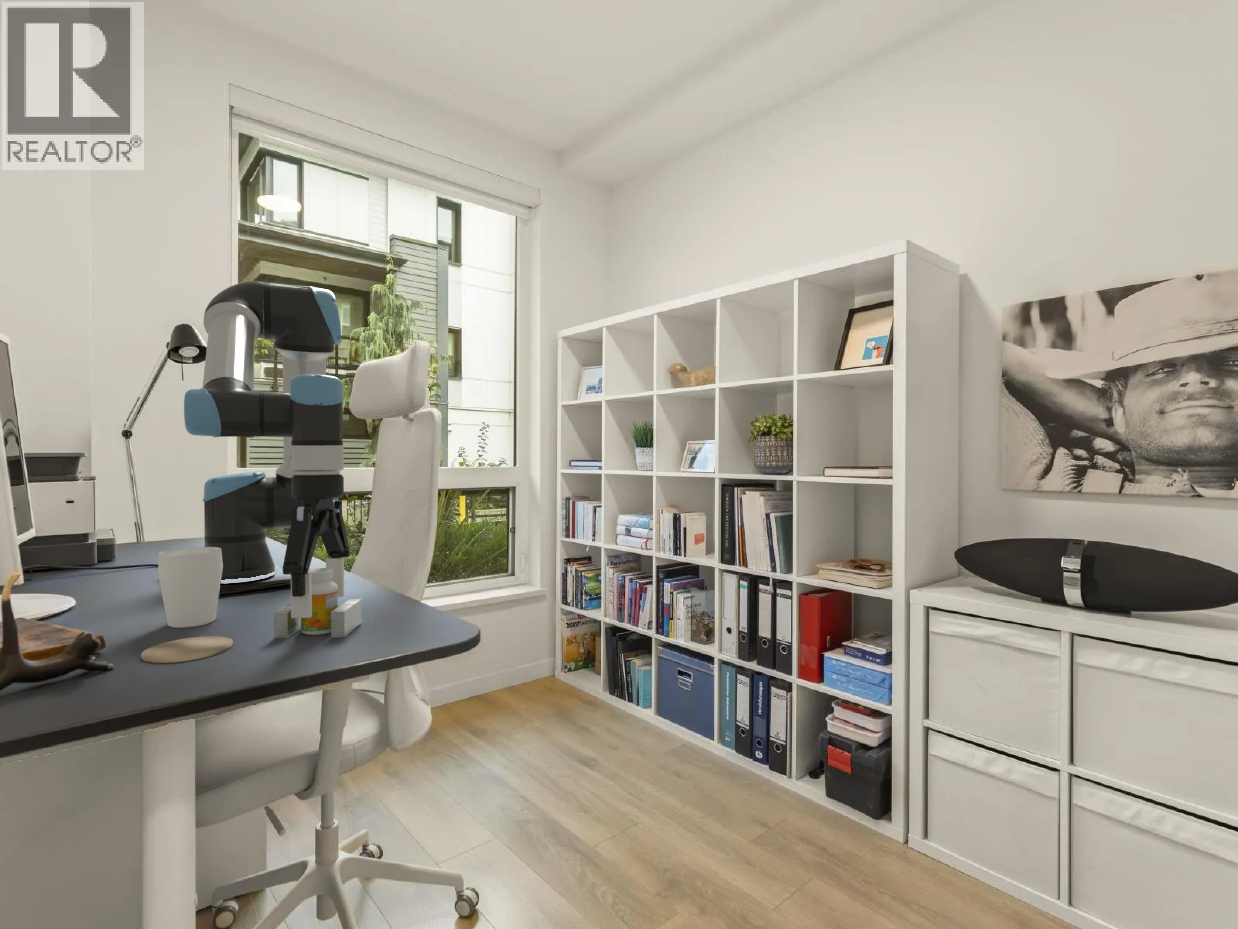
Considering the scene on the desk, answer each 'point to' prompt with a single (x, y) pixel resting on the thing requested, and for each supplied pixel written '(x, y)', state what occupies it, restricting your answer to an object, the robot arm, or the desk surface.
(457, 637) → the desk surface
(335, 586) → the supplement bottle
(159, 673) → the desk surface
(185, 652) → the coaster
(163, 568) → the cup
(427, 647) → the desk surface
